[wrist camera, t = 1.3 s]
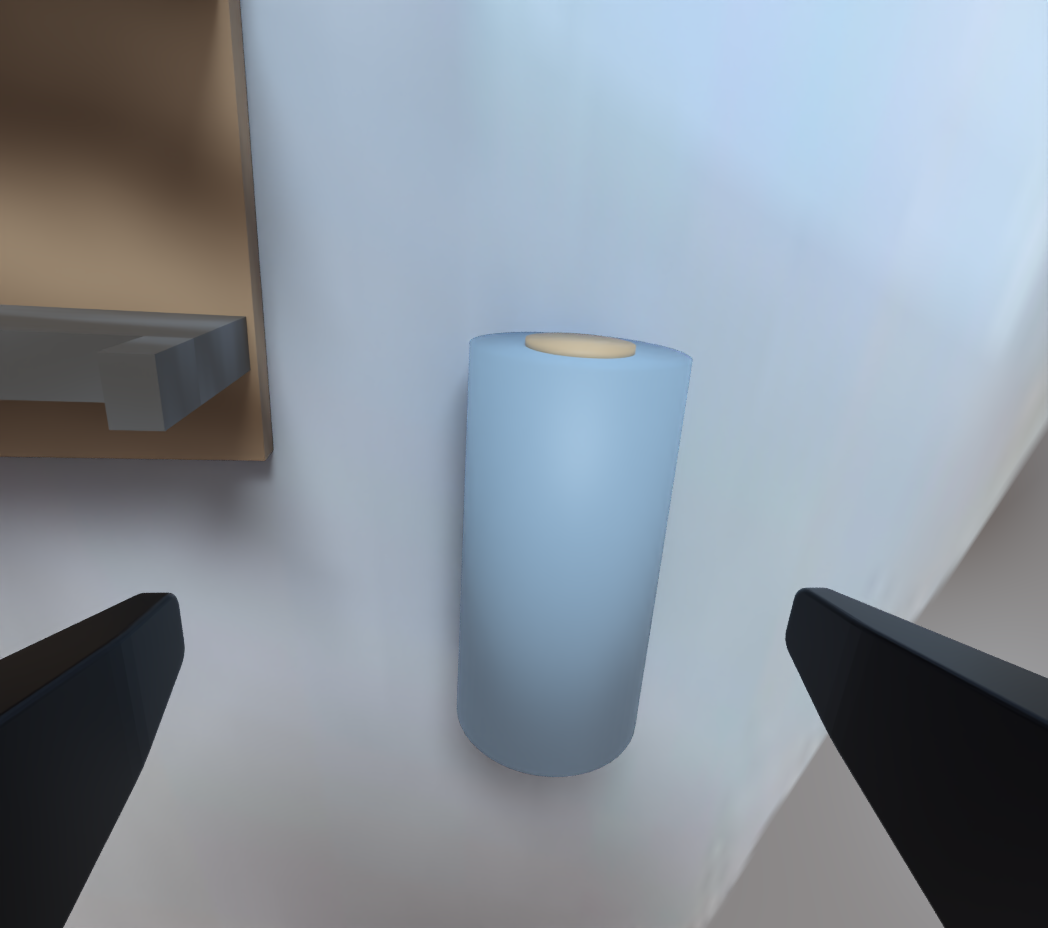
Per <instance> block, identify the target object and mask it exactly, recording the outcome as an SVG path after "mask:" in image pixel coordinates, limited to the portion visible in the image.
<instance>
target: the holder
mask: <svg viewBox="0 0 1048 928" xmlns="http://www.w3.org/2000/svg"><path fill="white" fill-rule="evenodd" d="M272 451H273V439H272V425H271V412H270V399H269V385H268V372H267V359H266V345H265V332H264V319H263V305H262V292H261V279H260V265H259V252H258V239H257V225H256V212H255V199H254V185H253V172H252V159H251V145H250V132H249V119H248V105H247V92H246V79H245V65H244V52H243V39H242V25H241V12H240V0H0V457H56V458H120V459H184V460H247V461H265V460H266V459H267V458H268V457H269V455H270V454H271V453H272Z"/></svg>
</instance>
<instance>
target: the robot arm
mask: <svg viewBox="0 0 1048 928" xmlns="http://www.w3.org/2000/svg"><path fill="white" fill-rule="evenodd" d="M785 639H786V645H787V649H788V652H789V654H790V656H791V658H792V660H793V662H794V664H795V666H796V668H797V670H798V672H799V674H800V677H801V679H802V681H803V683H804V685H805V687H806V689H807V691H808V693H809V695H810V697H811V700H812V702H813V704H814V706H815V708H816V710H817V712H818V714H819V716H820V718H821V720H822V722H823V724H824V726H825V728H826V730H827V732H828V734H829V736H830V738H831V739H832V741H833V743H834V745H835V747H836V748H837V750H838V752H839V753H840V755H841V757H842V759H843V760H844V762H845V764H846V765H847V767H848V768H849V770H850V772H851V774H852V775H853V777H854V778H855V780H856V782H857V783H858V785H859V787H860V788H861V790H862V792H863V793H864V795H865V797H866V798H867V800H868V802H869V803H870V805H871V807H872V808H873V810H874V812H875V813H876V815H877V817H878V818H879V820H880V822H881V823H882V825H883V827H884V828H885V830H886V832H887V833H888V835H889V837H890V838H891V840H892V841H893V843H894V845H895V846H896V848H897V850H898V851H899V853H900V855H901V856H902V858H903V860H904V861H905V863H906V865H907V866H908V868H909V870H910V871H911V873H912V875H913V876H914V878H915V880H916V881H917V883H918V885H919V886H920V888H921V890H922V891H923V893H924V894H925V896H926V898H927V899H928V901H929V902H930V904H931V906H932V908H933V909H934V911H935V913H936V914H937V916H938V918H939V919H940V921H941V923H942V924H943V926H944V928H1048V678H1045V677H1043V676H1041V675H1038V674H1036V673H1033V672H1031V671H1028V670H1026V669H1024V668H1021V667H1019V666H1016V665H1014V664H1011V663H1009V662H1006V661H1004V660H1001V659H999V658H996V657H994V656H992V655H989V654H987V653H984V652H982V651H980V650H977V649H975V648H972V647H970V646H967V645H965V644H962V643H960V642H958V641H955V640H953V639H950V638H948V637H945V636H943V635H941V634H938V633H936V632H933V631H931V630H928V629H926V628H923V627H921V626H918V625H916V624H914V623H911V622H909V621H906V620H904V619H901V618H899V617H897V616H894V615H892V614H889V613H887V612H884V611H882V610H879V609H877V608H875V607H872V606H870V605H867V604H865V603H862V602H860V601H858V600H855V599H853V598H850V597H848V596H845V595H843V594H840V593H838V592H836V591H833V590H831V589H828V588H802V589H800V590H799V591H798V592H797V593H796V595H795V598H794V601H793V605H792V609H791V613H790V617H789V621H788V625H787V629H786V638H785ZM184 651H185V645H184V637H183V630H182V623H181V616H180V609H179V603H178V600H177V598H176V596H175V595H174V594H172V593H140V594H138V595H136V596H133V597H131V598H129V599H127V600H125V601H123V602H121V603H119V604H117V605H115V606H112V607H110V608H108V609H106V610H104V611H102V612H100V613H98V614H96V615H93V616H91V617H89V618H87V619H85V620H83V621H81V622H79V623H77V624H74V625H72V626H70V627H68V628H66V629H64V630H62V631H60V632H58V633H56V634H53V635H51V636H49V637H47V638H45V639H43V640H41V641H39V642H37V643H34V644H32V645H30V646H28V647H26V648H24V649H22V650H20V651H18V652H16V653H13V654H11V655H9V656H7V657H5V658H3V659H1V660H0V928H63V927H64V925H65V923H66V921H67V919H68V917H69V915H70V913H71V911H72V909H73V907H74V905H75V903H76V901H77V899H78V897H79V895H80V893H81V891H82V889H83V887H84V885H85V883H86V881H87V879H88V877H89V875H90V873H91V871H92V869H93V867H94V865H95V863H96V861H97V859H98V857H99V855H100V853H101V851H102V849H103V847H104V845H105V843H106V842H107V840H108V838H109V836H110V834H111V832H112V830H113V828H114V826H115V824H116V822H117V820H118V818H119V816H120V814H121V812H122V810H123V808H124V806H125V804H126V802H127V800H128V798H129V796H130V794H131V792H132V790H133V788H134V786H135V784H136V781H137V779H138V777H139V775H140V773H141V771H142V769H143V767H144V764H145V762H146V759H147V757H148V754H149V752H150V749H151V746H152V744H153V741H154V738H155V736H156V733H157V730H158V727H159V725H160V722H161V719H162V717H163V714H164V711H165V709H166V706H167V703H168V700H169V698H170V695H171V692H172V690H173V687H174V684H175V681H176V679H177V676H178V673H179V671H180V668H181V665H182V662H183V658H184Z"/></svg>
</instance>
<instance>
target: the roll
mask: <svg viewBox="0 0 1048 928" xmlns="http://www.w3.org/2000/svg"><path fill="white" fill-rule="evenodd" d="M692 361H693V360H692V358H691V357H690V356H689V355H687V354H685V353H683V352H681V351H678V350H675V349H672V348H668V347H664V346H660V345H656V344H651V343H646V342H641V341H635V340H628V339H622V338H614V337H606V336H597V335H588V334H576V333H544V332H510V333H496V334H488V335H483V336H479V337H475V338H473V339H472V340H471V341H470V349H469V377H468V405H467V434H466V462H465V490H464V519H463V547H462V575H461V603H460V632H459V660H458V688H457V714H458V719H459V722H460V725H461V727H462V729H463V731H464V733H465V734H466V736H467V737H468V738H469V740H470V741H471V742H472V743H473V744H474V745H475V746H476V747H477V748H478V749H479V750H480V751H481V752H482V753H484V754H485V755H486V756H488V757H489V758H491V759H492V760H494V761H496V762H497V763H499V764H501V765H504V766H506V767H508V768H510V769H513V770H516V771H519V772H523V773H527V774H532V775H537V776H547V777H565V776H574V775H579V774H583V773H588V772H591V771H593V770H596V769H599V768H601V767H603V766H605V765H606V764H608V763H610V762H611V761H613V760H614V759H615V758H617V757H618V756H619V755H620V754H621V753H622V752H623V751H624V750H625V748H626V747H627V745H628V744H629V743H630V741H631V738H632V736H633V733H634V729H635V724H636V718H637V711H638V705H639V699H640V692H641V686H642V679H643V673H644V667H645V660H646V654H647V648H648V641H649V635H650V629H651V622H652V616H653V609H654V603H655V597H656V590H657V584H658V578H659V571H660V565H661V558H662V552H663V546H664V539H665V533H666V527H667V520H668V514H669V507H670V501H671V495H672V488H673V482H674V476H675V469H676V463H677V456H678V450H679V444H680V437H681V431H682V425H683V418H684V412H685V406H686V399H687V393H688V386H689V380H690V374H691V367H692Z"/></svg>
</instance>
